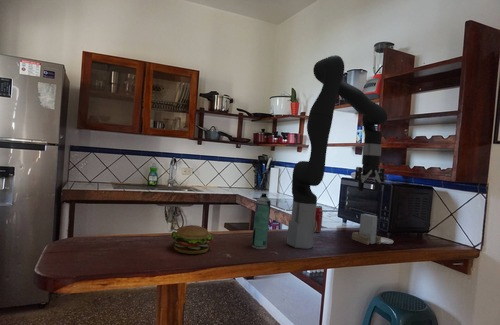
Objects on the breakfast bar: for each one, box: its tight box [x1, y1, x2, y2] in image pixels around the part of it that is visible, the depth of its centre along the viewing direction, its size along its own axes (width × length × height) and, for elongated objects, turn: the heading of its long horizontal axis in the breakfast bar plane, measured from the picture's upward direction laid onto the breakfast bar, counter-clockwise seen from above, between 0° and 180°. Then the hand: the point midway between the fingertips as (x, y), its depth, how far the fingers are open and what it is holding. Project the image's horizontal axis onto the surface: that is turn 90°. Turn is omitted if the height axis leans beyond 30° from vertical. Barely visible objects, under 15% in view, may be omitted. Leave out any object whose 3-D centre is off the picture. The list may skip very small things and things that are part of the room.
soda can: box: [314, 205, 324, 233], centre depth 153 cm, size 7×7×12 cm
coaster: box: [380, 236, 394, 245], centre depth 146 cm, size 9×9×1 cm
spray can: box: [251, 192, 272, 250], centre depth 118 cm, size 6×6×20 cm
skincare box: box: [359, 213, 378, 245], centre depth 141 cm, size 6×4×12 cm
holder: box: [351, 231, 382, 245], centre depth 142 cm, size 8×9×3 cm
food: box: [170, 224, 214, 255], centre depth 109 cm, size 14×14×8 cm
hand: (368, 191), depth 140 cm, fingers open, 8 cm apart
